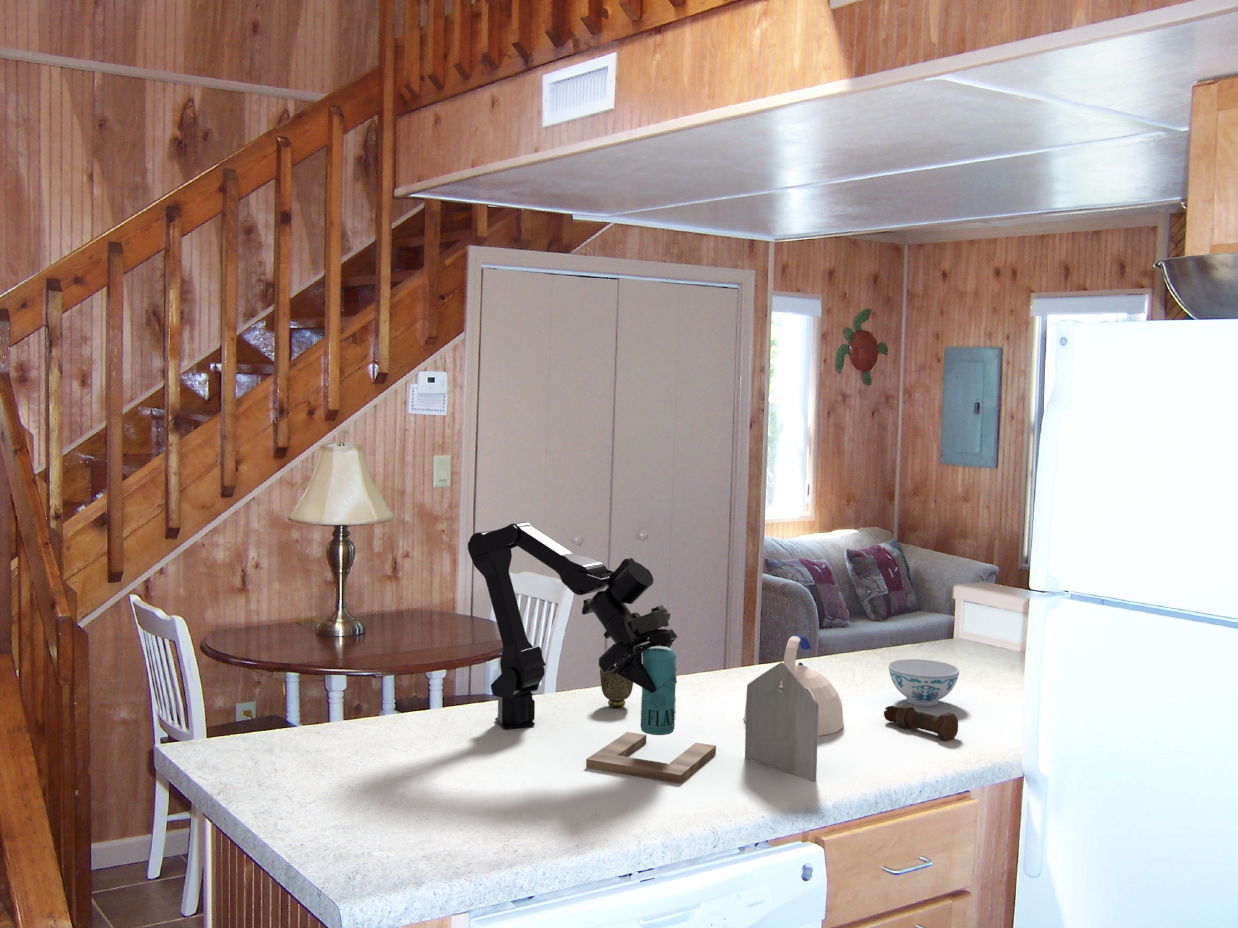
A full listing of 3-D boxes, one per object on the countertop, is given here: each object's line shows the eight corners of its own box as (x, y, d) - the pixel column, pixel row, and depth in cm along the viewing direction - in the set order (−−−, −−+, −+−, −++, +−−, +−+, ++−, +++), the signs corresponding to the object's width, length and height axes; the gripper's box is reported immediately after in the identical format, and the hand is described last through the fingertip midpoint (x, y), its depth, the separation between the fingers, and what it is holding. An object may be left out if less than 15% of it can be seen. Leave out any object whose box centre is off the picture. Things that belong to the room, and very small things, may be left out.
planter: (842, 772, 202) (845, 664, 200) (814, 781, 196) (817, 671, 195) (772, 749, 214) (774, 647, 213) (743, 757, 209) (746, 654, 207)
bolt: (889, 730, 234) (953, 746, 222) (876, 721, 231) (939, 737, 219) (898, 703, 235) (961, 718, 224) (885, 694, 233) (948, 709, 221)
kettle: (731, 730, 226) (733, 640, 225) (758, 703, 245) (760, 621, 244) (832, 743, 218) (835, 651, 217) (852, 715, 237) (855, 630, 236)
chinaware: (966, 699, 251) (967, 665, 250) (946, 715, 238) (947, 679, 238) (900, 689, 259) (901, 655, 258) (877, 703, 246) (878, 668, 246)
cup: (633, 711, 237) (634, 673, 236) (598, 710, 237) (599, 673, 236) (634, 701, 244) (634, 665, 244) (599, 700, 244) (600, 664, 244)
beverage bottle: (642, 743, 204) (645, 634, 202) (637, 732, 210) (639, 626, 209) (678, 743, 205) (681, 633, 203) (671, 731, 211) (674, 625, 210)
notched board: (680, 783, 194) (680, 774, 194) (586, 767, 202) (586, 758, 202) (715, 753, 211) (715, 745, 211) (627, 739, 218) (627, 731, 218)
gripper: (613, 600, 200) (664, 672, 195) (670, 585, 215) (718, 652, 210) (577, 637, 205) (625, 708, 200) (634, 620, 221) (681, 686, 215)
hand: (664, 687), depth 206 cm, fingers closed on beverage bottle, 6 cm apart
